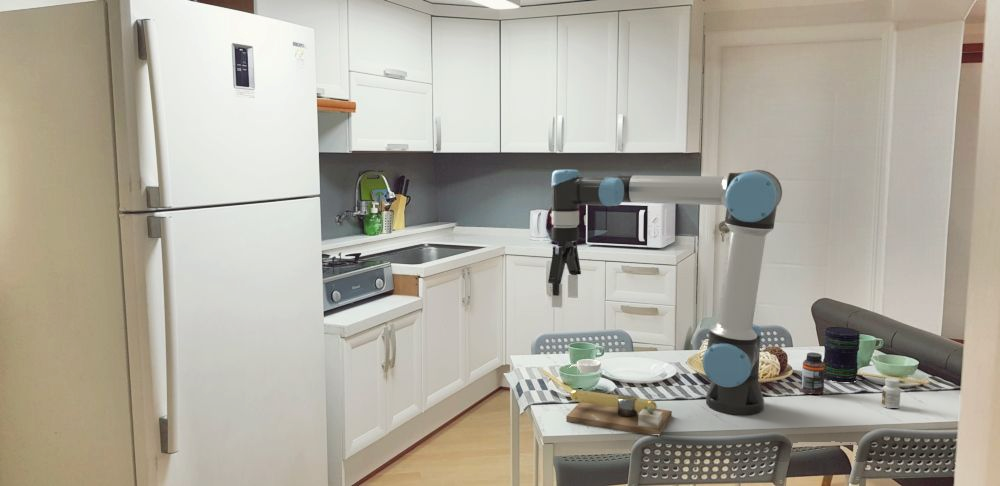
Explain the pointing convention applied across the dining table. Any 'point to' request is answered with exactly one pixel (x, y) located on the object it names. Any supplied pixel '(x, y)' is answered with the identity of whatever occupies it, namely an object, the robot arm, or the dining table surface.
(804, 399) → the dining table surface
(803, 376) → the supplement bottle
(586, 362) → the cup
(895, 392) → the pill bottle
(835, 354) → the storage jar
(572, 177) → the robot arm
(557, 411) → the dining table surface
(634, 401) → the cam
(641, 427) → the stand
